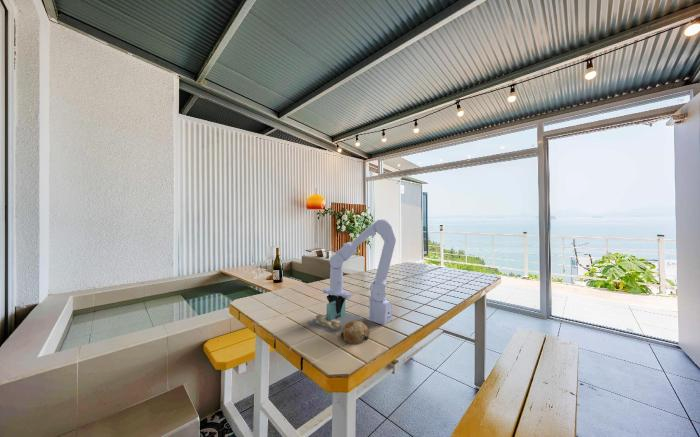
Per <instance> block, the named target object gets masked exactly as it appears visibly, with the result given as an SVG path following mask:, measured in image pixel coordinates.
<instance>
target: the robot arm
mask: <svg viewBox="0 0 700 437" xmlns="http://www.w3.org/2000/svg"><path fill="white" fill-rule="evenodd" d="M377 234H378V235H379V236H380V238H382V240H383V246H382V248H381V253H380V258H379V262H378V266H377V270H376V272H375V273H376V274H375V276H374V279H373V282H372V283H371V284H370V286H369V289H370V296H369V302H368V304H369V305H368V306H369V308H368V309H369V310H368V311H369V312H368V313H369V314H368V316H367V317H366V318H365V317H364V319H365V320H367V321H370V322H372V323H376V324H380V325H383V326H384V325H386V324H387V323H389V322H391V321H392V320H393V317H392V316H393V315H392V314H393V307H392V306H393V304H392V302H391V301H389V300H387V299H386V298H387V297H386V295H387V294H386V286H387V285H386V284H387V277H388V273H389V269H390V265H391V260H392V257H393V253H394V250H395V245H396V243H397V242H396V237H395V234H394V231H393V227H392V225H391V224H390V223H389V222H388V220H386V219H378V220H375V221H374V223H372V224H370V225H369V226H367V227H366V228H365V229H364V230H363V231H362V232H361V233H360V234H359V235H358V236H356V237H355V239H354V240H353V241H347V242H346V243H345V242H344V243H343V244H342V247H340V249H339V250H336V251H335V253H334V254H333V255H332V256H331V257H330V258H329V265H330V268H329V269H330V271H329V288H327V287H325V288H323V289H322V293H323V294H327V296H326V299H327V301H328V303H331V302H333V301H335V302H336V312H337V314H338V313H341V309H342V306H343V303H344V301H345V302H346V300H350V299H351V293H349V292H347V291H345V290H343V288H344V279H343V278H344V271H343V263H344V262H347V261H348V260H349V259H350V258H351V257H352V256H353V255H354V254H356V253H357V247H359V246H360V245H361V244H362V243H363V242H364V241H366V240H367V239H368V238H369V237H371V236H376V235H377Z"/></svg>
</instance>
